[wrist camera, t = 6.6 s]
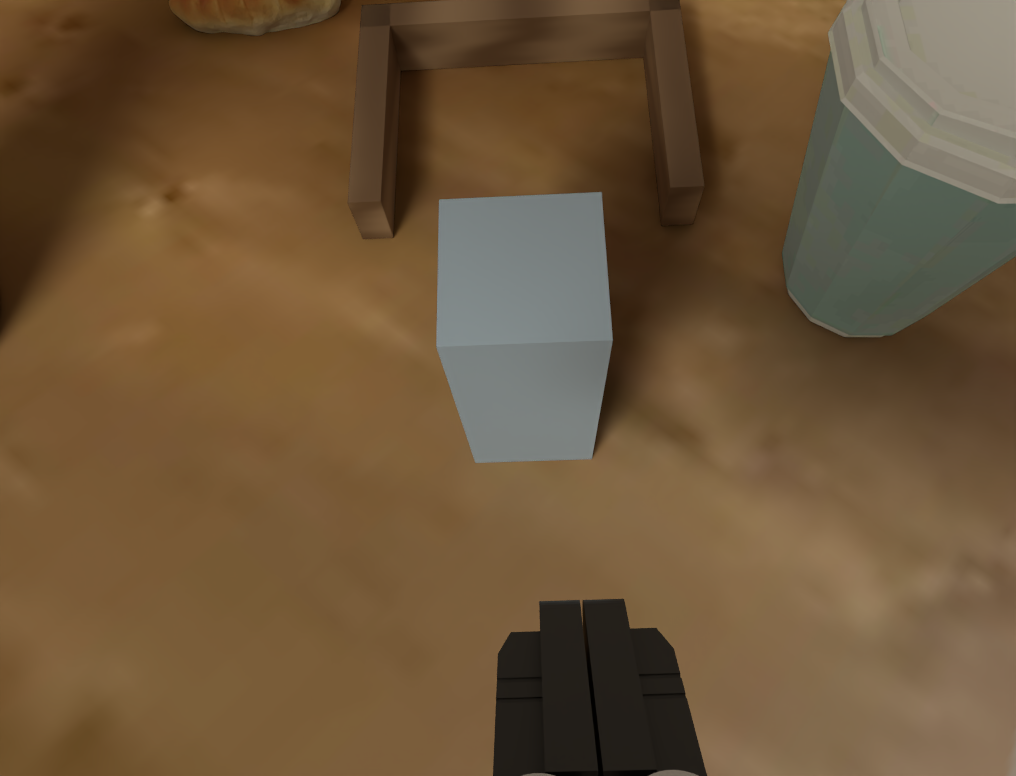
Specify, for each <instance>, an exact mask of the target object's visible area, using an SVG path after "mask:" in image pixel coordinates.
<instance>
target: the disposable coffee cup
mask: <svg viewBox="0 0 1016 776" xmlns="http://www.w3.org/2000/svg"><path fill="white" fill-rule="evenodd" d="M828 36H829V42H830V47H831V51H830V55H829V59H828V63H827V67H826V72H825V76H824V80H823V84H822V88H821V92H820V97H819V101H818V105H817V109H816V113H815V117H814V122H813V126H812V130H811V134H810V138H809V142H808V147H807V151H806V155H805V159H804V163H803V167H802V172H801V176H800V180H799V184H798V188H797V192H796V197H795V201H794V205H793V209H792V213H791V217H790V222H789V226H788V230H787V234H786V238H785V242H784V246H783V251H782V258H783V265H784V273H785V280H786V287H787V289H788V294H789V296H790V297H791V298H792V299H793V301H794V302H795V303H796V304H797V306H798V307H799V308H800V309H801V311H802V312H803V313H804V314H805V316H806V317H807V318H808V319H809V320H810V321H811V322H813V323H815V324H817V325H820V326H822V327H824V328H826V329H828V330H830V331H832V332H834V333H837V334H839V335H841V336H843V337H882V336H884V335H893V334H895V333H897V332H899V331H900V330H902V329H904V328H906V327H908V326H909V325H911V324H913V323H915V322H917V321H918V320H920V319H922V318H924V317H925V316H927V315H928V314H930V313H931V312H933V311H934V310H936V309H937V308H939V307H940V306H942V305H943V304H945V303H946V302H948V301H949V300H951V299H952V298H954V297H955V296H957V295H958V294H960V293H961V292H963V291H964V290H966V289H967V288H969V287H970V286H972V285H973V284H975V283H976V282H978V281H979V280H981V279H982V278H984V277H985V276H987V275H988V274H990V273H991V272H993V271H994V270H996V269H997V268H999V267H1000V266H1002V265H1003V264H1005V263H1006V262H1008V261H1009V260H1011V259H1012V258H1014V257H1015V256H1016V0H847V2H846V4H845V5H844V7H843V8H842V10H841V12H840V13H839V15H838V17H837V18H836V20H835V22H834V23H833V25H832V27H831V28H830V30H829V32H828Z"/></svg>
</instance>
